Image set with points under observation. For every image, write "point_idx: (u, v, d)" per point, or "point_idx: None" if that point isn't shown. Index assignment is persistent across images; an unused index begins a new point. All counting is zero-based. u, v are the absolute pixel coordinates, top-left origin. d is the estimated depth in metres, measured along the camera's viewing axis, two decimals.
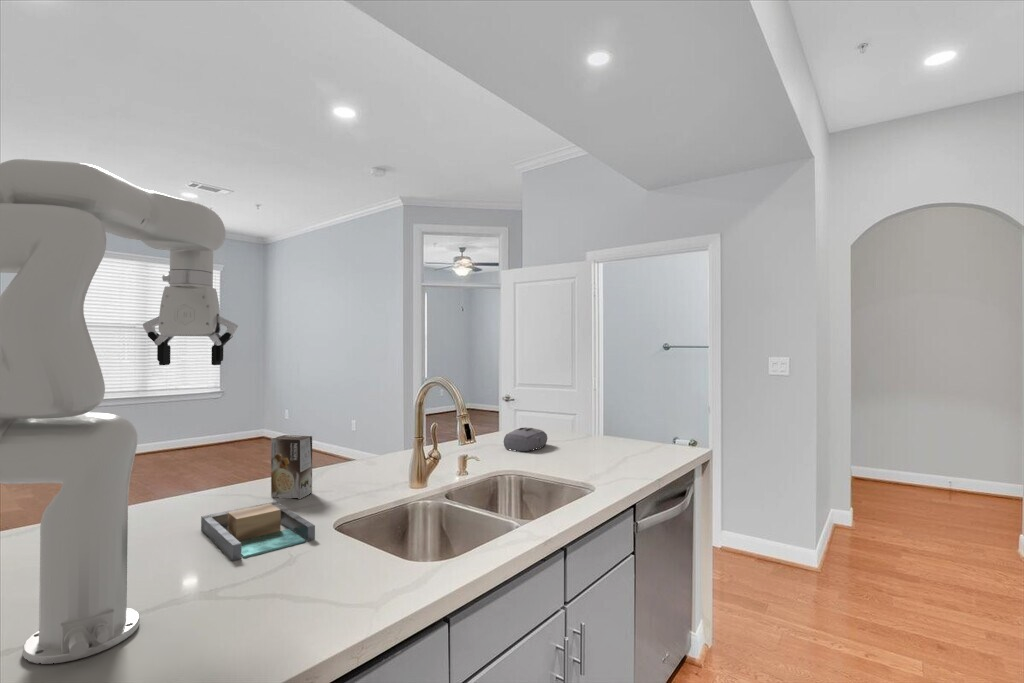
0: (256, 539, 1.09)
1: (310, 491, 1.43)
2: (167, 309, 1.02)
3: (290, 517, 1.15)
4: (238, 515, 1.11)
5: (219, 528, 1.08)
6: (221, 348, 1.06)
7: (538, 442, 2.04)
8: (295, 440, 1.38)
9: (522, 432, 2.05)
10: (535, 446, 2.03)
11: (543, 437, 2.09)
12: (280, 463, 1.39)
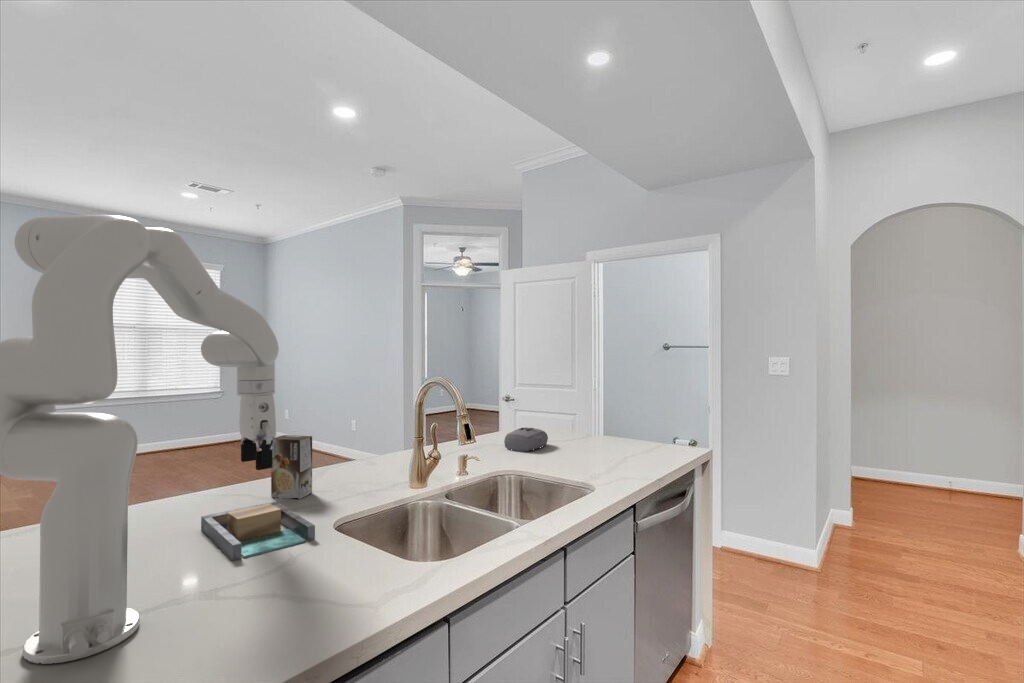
0: (256, 539, 1.09)
1: (310, 491, 1.43)
2: None
3: (290, 517, 1.15)
4: (239, 515, 1.11)
5: (219, 528, 1.08)
6: None
7: (539, 442, 2.04)
8: (295, 440, 1.38)
9: (523, 432, 2.05)
10: (536, 446, 2.03)
11: (544, 437, 2.09)
12: (280, 463, 1.39)
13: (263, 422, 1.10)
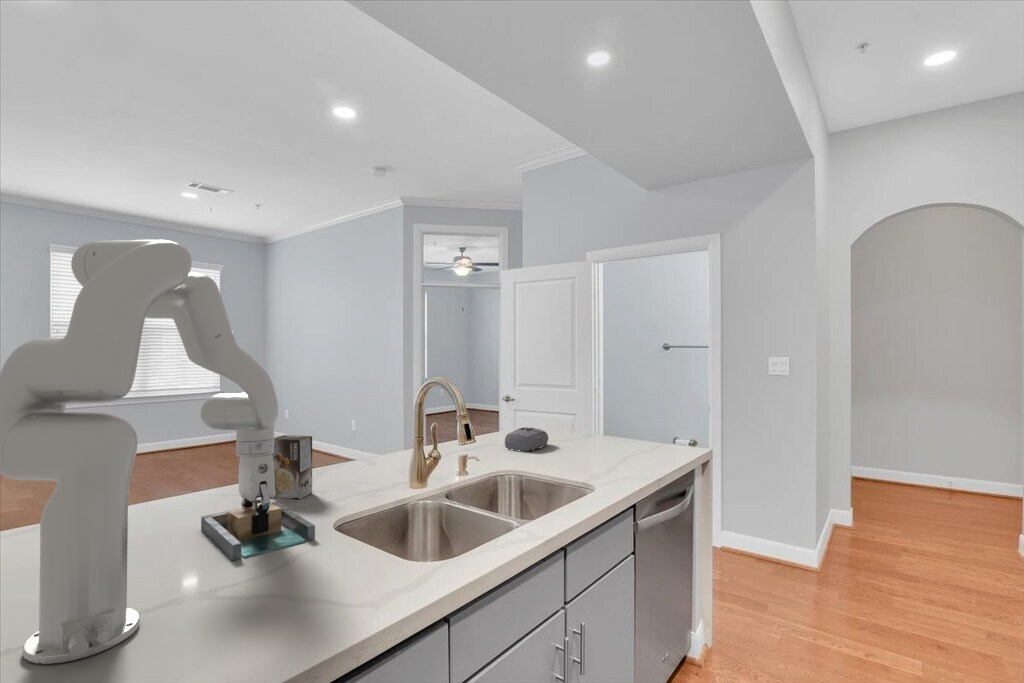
0: (256, 539, 1.09)
1: (310, 491, 1.43)
2: None
3: (290, 517, 1.15)
4: (239, 514, 1.11)
5: (219, 528, 1.08)
6: None
7: (539, 442, 2.05)
8: (295, 440, 1.38)
9: (523, 432, 2.05)
10: (536, 446, 2.04)
11: (544, 437, 2.09)
12: (280, 463, 1.39)
13: (262, 486, 1.10)
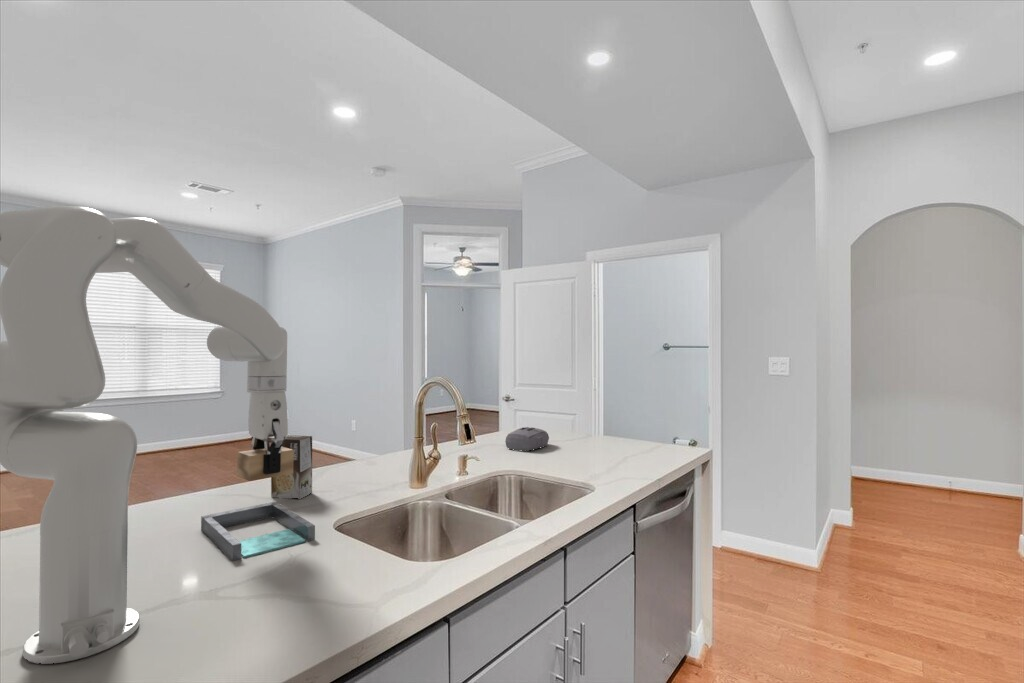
0: (256, 539, 1.09)
1: (310, 491, 1.43)
2: None
3: (290, 517, 1.15)
4: (250, 453, 1.05)
5: (219, 528, 1.08)
6: None
7: (540, 442, 2.05)
8: (295, 440, 1.38)
9: (524, 432, 2.06)
10: (537, 446, 2.04)
11: (545, 437, 2.10)
12: None
13: (274, 423, 1.05)
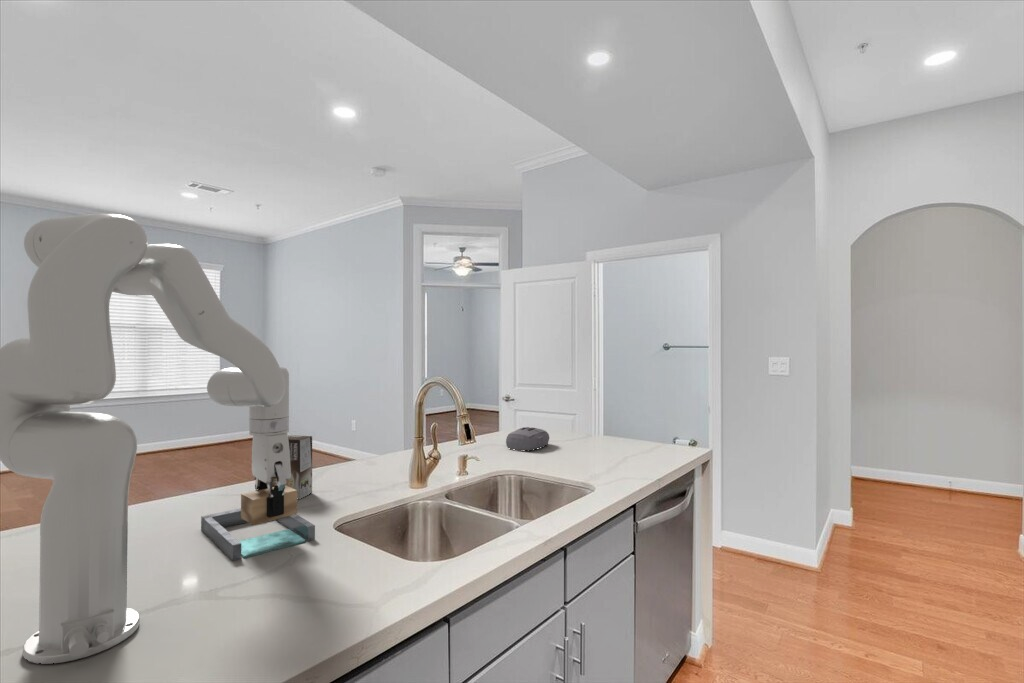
0: (256, 539, 1.09)
1: (310, 491, 1.43)
2: None
3: (290, 517, 1.15)
4: (253, 496, 1.05)
5: (219, 528, 1.08)
6: None
7: (540, 442, 2.05)
8: (295, 440, 1.38)
9: (524, 432, 2.06)
10: (537, 446, 2.04)
11: (545, 437, 2.10)
12: None
13: (277, 466, 1.04)
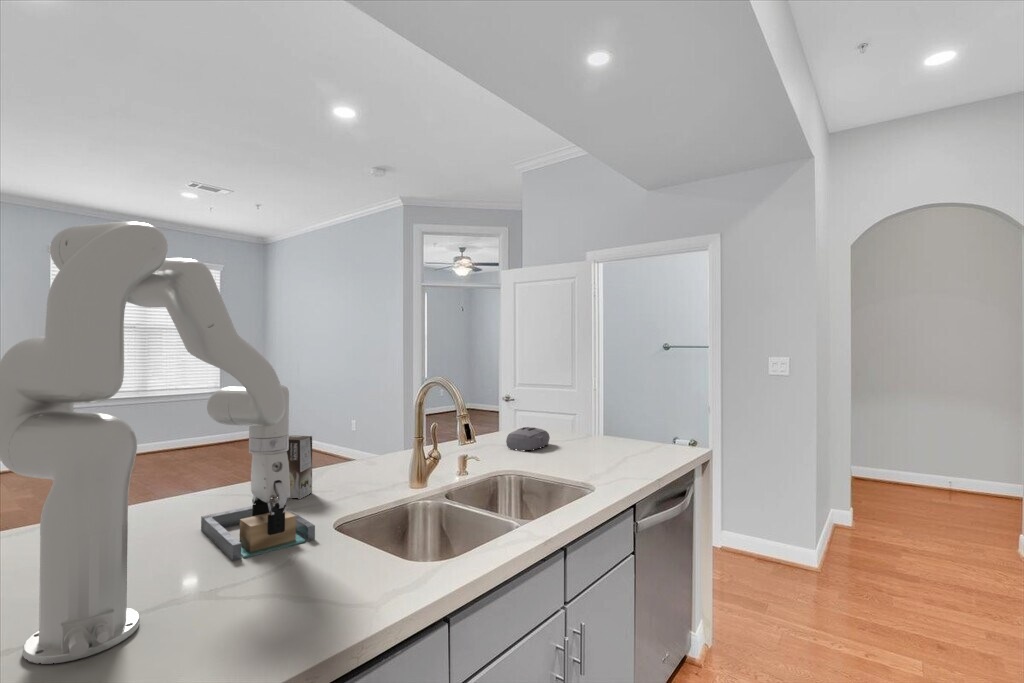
0: None
1: (310, 491, 1.43)
2: None
3: None
4: (252, 522, 1.04)
5: (219, 528, 1.08)
6: None
7: (541, 441, 2.05)
8: (295, 440, 1.38)
9: (525, 432, 2.06)
10: (538, 445, 2.04)
11: (545, 437, 2.10)
12: None
13: (276, 483, 1.04)
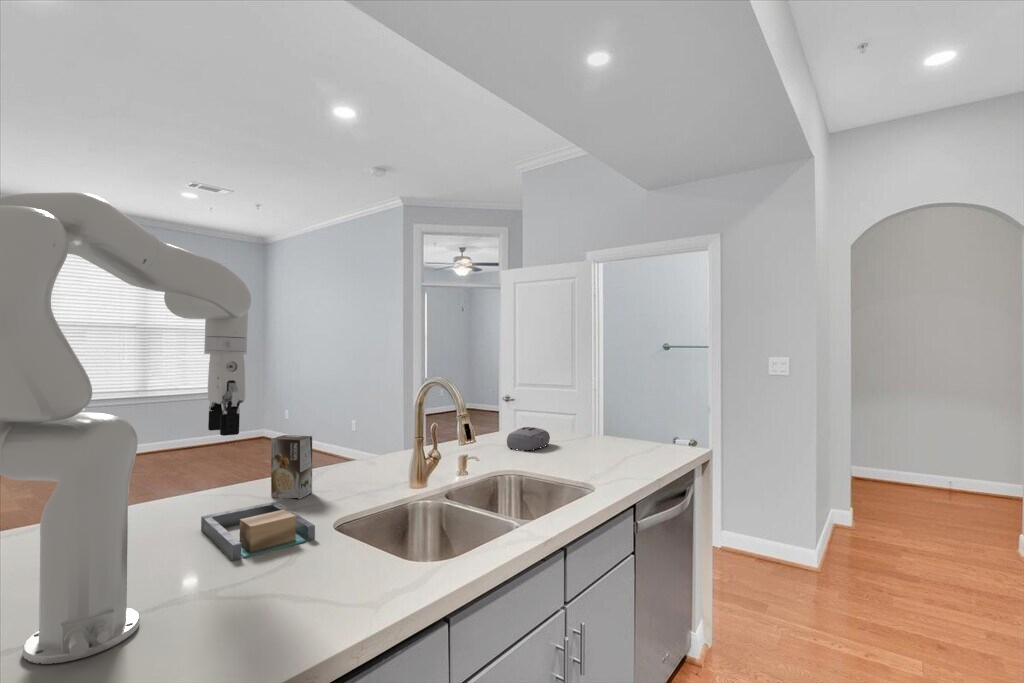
0: None
1: (310, 491, 1.43)
2: None
3: None
4: (252, 522, 1.04)
5: (219, 528, 1.08)
6: None
7: (541, 441, 2.06)
8: (295, 440, 1.38)
9: (525, 431, 2.06)
10: (538, 445, 2.05)
11: (546, 436, 2.10)
12: (280, 463, 1.39)
13: (230, 382, 1.00)
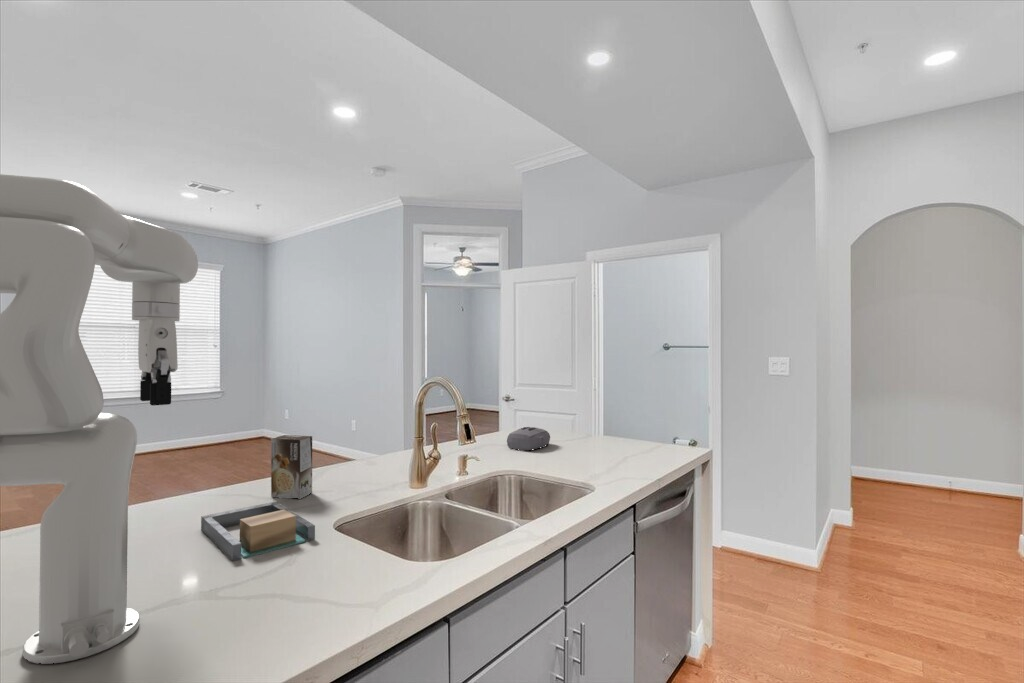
0: None
1: (310, 491, 1.43)
2: None
3: None
4: (252, 522, 1.04)
5: (219, 528, 1.08)
6: None
7: (541, 441, 2.06)
8: (295, 440, 1.38)
9: (525, 431, 2.06)
10: (538, 445, 2.05)
11: (546, 436, 2.11)
12: (280, 463, 1.39)
13: (160, 350, 0.94)
